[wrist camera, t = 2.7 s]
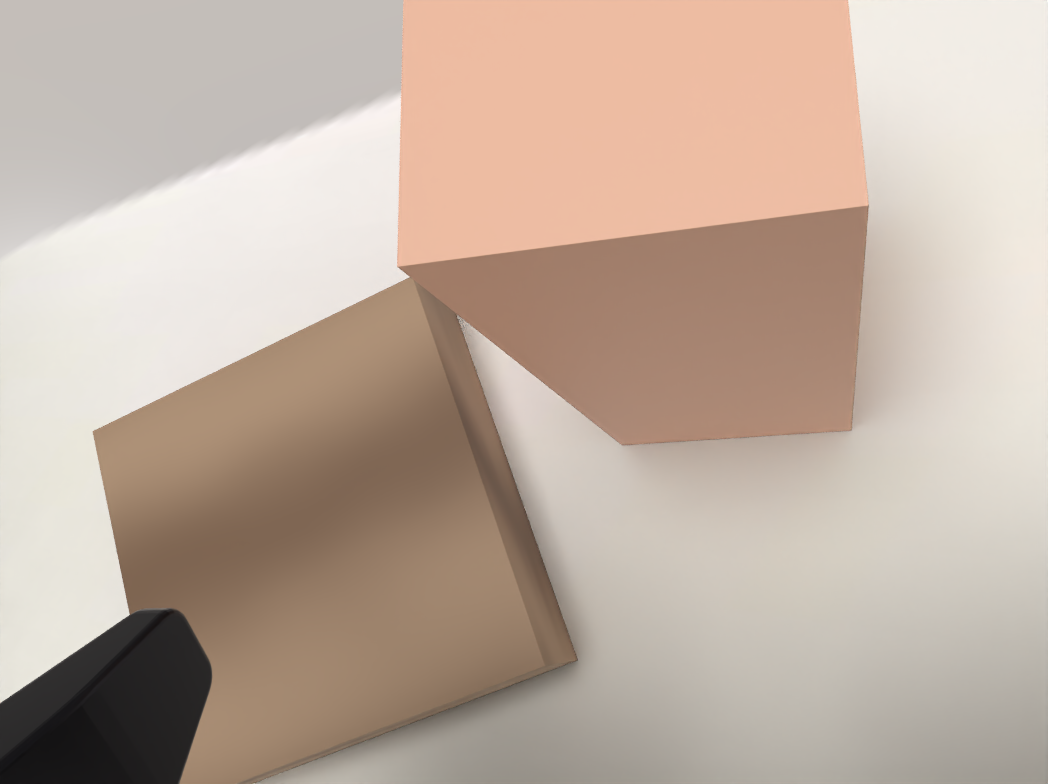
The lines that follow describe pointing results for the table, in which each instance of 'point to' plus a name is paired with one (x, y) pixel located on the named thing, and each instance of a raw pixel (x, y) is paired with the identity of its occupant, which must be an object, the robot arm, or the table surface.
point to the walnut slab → (333, 536)
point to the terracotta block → (644, 203)
